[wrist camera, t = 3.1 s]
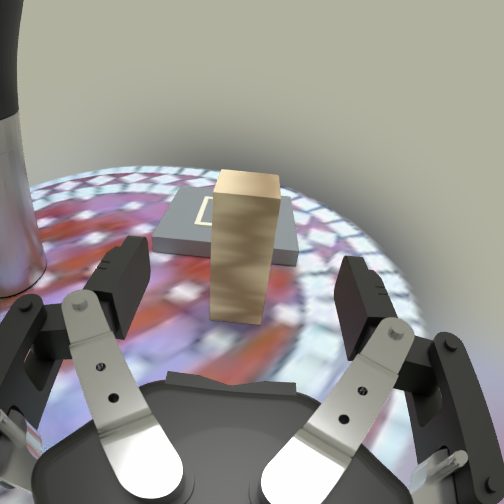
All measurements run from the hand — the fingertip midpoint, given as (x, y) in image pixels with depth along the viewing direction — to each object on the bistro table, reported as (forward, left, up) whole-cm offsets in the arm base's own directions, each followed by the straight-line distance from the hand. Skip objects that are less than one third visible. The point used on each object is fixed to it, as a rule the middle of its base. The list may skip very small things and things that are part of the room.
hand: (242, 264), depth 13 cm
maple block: (0, +11, -13) cm, 17 cm away
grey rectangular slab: (-2, +25, -13) cm, 29 cm away
